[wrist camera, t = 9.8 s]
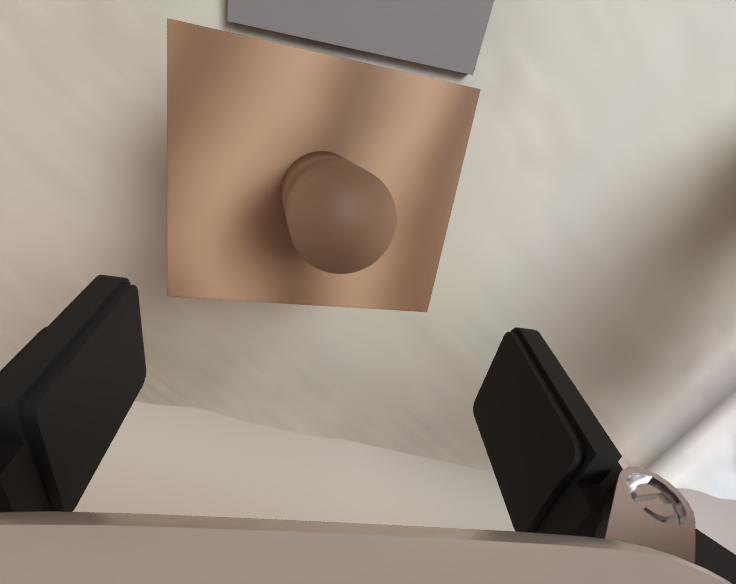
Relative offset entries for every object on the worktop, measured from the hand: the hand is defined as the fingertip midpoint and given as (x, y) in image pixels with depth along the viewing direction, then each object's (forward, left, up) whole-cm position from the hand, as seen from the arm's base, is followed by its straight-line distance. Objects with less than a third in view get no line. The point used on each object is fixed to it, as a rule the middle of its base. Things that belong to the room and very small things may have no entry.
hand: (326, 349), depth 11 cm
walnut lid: (0, 0, -13) cm, 13 cm away
